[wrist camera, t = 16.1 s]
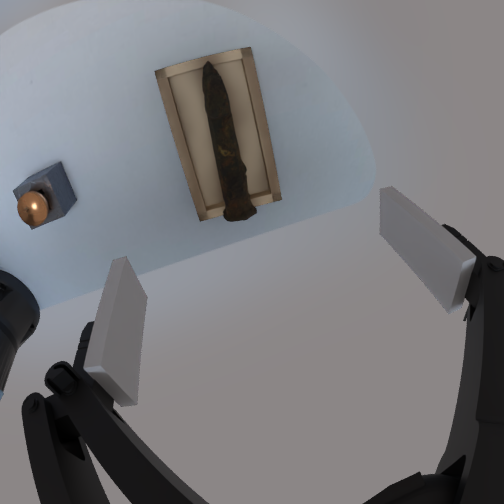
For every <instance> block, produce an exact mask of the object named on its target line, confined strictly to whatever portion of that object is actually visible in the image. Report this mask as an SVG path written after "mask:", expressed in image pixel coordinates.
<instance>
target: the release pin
mask: <svg viewBox="0 0 504 504" xmlns="http://www.w3.org/2000/svg"><path fill="white" fill-rule="evenodd" d="M17 208H18V213H19V216H20V217H21V219H22V220H23V221H24V222H25V223H26V224H28V225H30V226H38V225H40V224H42V223H43V222H44V220H45V219H46V218H47V216H48V212H49V207H48V202H47V199H46V197H45V195H44V193H43V191H42V189H40V190H38V191H37V192H36V191H28V192H26V193H25V194H24V195H22V196H21V198H20V199H19V201H18V205H17Z"/></svg>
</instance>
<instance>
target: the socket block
mask: <svg viewBox="0 0 504 504" xmlns="http://www.w3.org/2000/svg"><path fill="white" fill-rule="evenodd" d="M40 189H42V191H43V193H44V195H45V197H46V199H47V202H48V207H49V212H48V216H47V218H46V219H45V220H44V222H43V223H42V224H40V225H38V226H30V225H29V226H30V228H31V230H32V229H35V228H37V227H39V226H42V225H44V224H46V223H49V222H51V221H54V220H56V219H59V218H61V217H63V216H65V215H66V214H67V212H68V211H69V210H70V208H71V207H72V206H73V204H74V203H75V202H76V200H77V199H76V197H75V194H74V192H73V190H72V187H71V185H70V183H69V180H68V178H67V176H66V173H65V171H64V168H63V166H62V163H61V162H59V163H56V164H54V165H52V166H50V167H48V168H46V169H44V170H42V171H40V172H38V173H36V174H34V175H32V176H30V177H28V178H27V179H26V180H25V181H24V182H22V183H21V184H20V185H19V186H18V187H17V188H16V189H14V190H13V193H14V195H15V197H16V199H17V201H19V199H20V198H21V196H22V195H24V194H25V193H26V192H28V191H36V192H37V191H38V190H40Z"/></svg>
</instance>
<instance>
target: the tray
mask: <svg viewBox="0 0 504 504" xmlns="http://www.w3.org/2000/svg"><path fill="white" fill-rule="evenodd" d="M207 61H209V62H211V64H212V65H213V67H214V68H215V69H216V70H217V71H218V73H219V75H220V76H221V78H222V80H223V83H224V85H225V88H226V91H227V94H228V98H229V101H230V108H231V113H232V117H233V123H234V128H235V133H236V137H237V141H238V145H239V150H240V156H241V159H242V161H243V163H244V164H245V166H246V168H247V172H246V175H247V185H248V193H249V194H250V200H251V202H252V204H253V206H254V207H256V206H260V205H264V204H268V203H271V202H275V201H279V200H282V197H281V192H280V186H279V181H278V176H277V170H276V165H275V160H274V155H273V149H272V144H271V139H270V134H269V129H268V124H267V120H266V115H265V110H264V105H263V100H262V96H261V91H260V86H259V82H258V77H257V73H256V68H255V64H254V59H253V55H252V50H251V47H247V48H242V49H237V50H232V51H227V52H223V53H218V54H214V55H210V56H205V57H201V58H198V59H194V60H190V61H186V62H183V63H179V64H176V65H173V66H169V67H166V68H163V69H160V70H156V71H154V72H155V75H156V79H157V82H158V86H159V90H160V93H161V97H162V100H163V104H164V107H165V110H166V114H167V117H168V121H169V124H170V127H171V131H172V134H173V137H174V141H175V144H176V147H177V151H178V154H179V157H180V160H181V164H182V167H183V170H184V173H185V176H186V180H187V183H188V186H189V189H190V192H191V195H192V198H193V201H194V205H195V208H196V211H197V214H198V217H199V220H200V221H204V220H208V219H211V218H215V217H218V216H222V215H223V211H224V209H225V202H224V199H223V194H222V189H221V184H220V180H219V176H218V170H217V165H216V160H215V155H214V151H213V145H212V139H211V134H210V129H209V124H208V118H207V113H206V111H205V105H204V104H205V101H204V93H203V88H202V77H203V66H204V65H205V64H206V62H207Z"/></svg>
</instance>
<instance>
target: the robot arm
mask: <svg viewBox="0 0 504 504" xmlns="http://www.w3.org/2000/svg"><path fill="white" fill-rule="evenodd" d="M380 235H381V236H382V237H383V238H384V239H385V240H386V241H387V242H388V243H389V245H390V246H391V247H392V248H393V249H394V250H395V251H396V252H397V253H398V254H399V256H400V257H401V258H402V259H403V260H404V261H405V262H406V263H407V264H408V266H409V267H410V268H411V269H412V270H413V271H414V273H415V274H416V275H417V276H418V277H419V279H420V280H421V281H422V282H423V283H424V284H425V286H426V287H427V288H428V289H429V290H430V292H431V293H432V294H433V295H434V296H435V298H436V299H437V300H438V301H439V303H440V304H441V305H442V306H443V308H444V309H445V310H446V311H447V313H448V314H450V313H452V312H454V311H456V310H458V309H460V308H461V307H462V305H463V302H464V298H466V299H467V300H468V301H469V306H468V309H467V311H466V314H465V317H464V320H463V321H466V318H467V328H466V340H465V351H464V360H463V367H462V375H461V381H460V388H459V394H458V399H457V405H456V410H455V414H454V419H453V424H452V428H451V432H450V436H449V440H448V444H447V447H446V451H445V453H444V454H443V456H442V458H441V460H440V462H439V464H438V467H437V470H436V473H435V474H428V475H421V473H420V472H418V473H416V474H414V475H412V476H409V477H407V478H405V479H403V480H401V481H399V482H396V483H394V484H392V485H390V486H388V487H387V488H385V489H384V490H383V491H381V492H380V493H378V494H377V495H375V496H374V497H372V498H371V499H370V500H368V501H366V502H365V503H363V504H504V260H502V259H501V258H499V257H495V256H488V257H486V256H485V255H484V254H483V253H482V252H481V251H480V250H478V249H477V248H476V247H475V246H474V245H473V244H472V243H471V242H469V241H467V239H466V238H465V237H464V236H462V235H461V234H460V233H459V232H458V231H457V230H456V229H454V228H452V227H450V226H448V225H446V224H444V225H440V224H439V223H438V222H437V221H436V220H434V219H433V218H432V217H431V216H429V215H428V214H427V213H426V212H424V211H423V210H422V209H421V208H420V207H418V206H417V205H416V204H415V203H413V202H412V201H411V200H409V199H408V198H407V197H405V196H404V195H403V194H402V193H400V192H399V191H398V190H396V189H395V188H394V187H392V186H391V187H387V188H382V189H380ZM146 304H147V295H146V294H145V292H144V290H143V288H142V286H141V284H140V282H139V280H138V279H137V277H136V275H135V273H134V271H133V269H132V267H131V265H130V263H129V261H128V259H127V257H122V258H119V259H116V260H113V262H112V265H111V268H110V271H109V274H108V277H107V280H106V284H105V287H104V290H103V293H102V297H101V301H100V304H99V307H98V311H97V315H96V318H95V321H93V322H89V323H87V325H86V327H85V328H84V330H83V331H82V334H81V337H80V343H79V345H78V350H77V353H76V356H75V360H74V364H73V367H72V366H71V365H70V364H69V363H67V362H65V361H60V362H57V363H55V364H54V365H53V366H52V367H51V368H50V369H49V370H48V372H47V373H46V376H45V380H44V381H45V385H46V387H47V388H48V389H50V390H51V391H52V392H53V393H54V394H53V395H51V396H49V397H47V398H44V397H43V396H42V395H41V394H40V393H36V392H35V393H32V394H30V395H29V396H27V397H26V399H25V400H24V402H23V405H22V419H23V426H24V433H25V438H26V445H27V450H28V455H29V460H30V464H31V469H32V473H33V477H34V481H35V485H36V489H37V492H38V496H39V499H40V503H41V504H110V502H109V500H108V498H107V496H106V494H105V491H104V489H103V487H102V485H101V482H100V480H99V478H98V475H97V473H96V470H95V468H94V465H93V463H92V460H91V457H90V455H89V452H88V449H87V446H86V444H87V445H88V447H89V448H90V450H91V451H92V453H93V454H94V456H95V457H96V458H97V460H98V461H99V463H100V464H101V466H102V467H103V468H104V470H105V471H106V472H107V474H108V475H109V476H110V478H111V479H112V480H113V481H114V483H115V484H116V485H117V486H118V487H119V489H120V490H121V491H122V493H123V494H124V495H125V496H126V497H127V498H128V500H129V501H130V502H131V503H132V504H209V503H207V502H206V501H205V500H204V499H203V498H202V497H200V496H199V495H198V494H197V493H196V492H195V491H193V490H192V489H191V488H190V487H189V486H188V485H187V484H186V483H184V482H183V481H182V480H181V479H180V478H179V477H178V476H177V475H176V474H175V473H173V471H172V470H170V469H169V468H168V467H167V466H166V465H165V464H164V463H163V462H162V461H161V460H160V459H159V458H158V457H157V456H156V455H155V454H154V453H153V452H152V450H150V448H149V447H148V446H147V445H146V444H145V443H144V442H143V441H142V440H141V439H140V438H139V437H138V436H137V434H136V433H135V432H134V431H133V430H132V429H131V428H130V427H129V425H128V424H127V423H126V422H125V421H124V420H123V418H122V417H121V416H120V415H119V414H118V412H117V411H116V410H115V409H114V408H113V403H114V400H115V401H116V402H117V403H118V404H119V405H120V406H121V407H123V406H132V405H137V401H138V385H139V371H140V358H141V348H142V338H143V328H144V320H145V311H146ZM39 319H40V311H39V307H38V304H37V302H36V300H35V298H34V296H33V295H32V294H31V292H30V291H29V290H28V289H27V287H26V286H25V285H24V284H23V283H21V282H20V281H19V280H18V279H16V278H15V277H13V276H12V275H10V274H8V273H6V272H3V271H0V400H1V398H2V396H3V391H4V388H5V384H6V381H7V378H8V375H9V372H10V369H11V367H12V364H13V361H14V358H15V355H16V353H17V350H18V348H19V347H20V346H21V345H22V344H23V343H24V342H25V341H26V340H27V339H28V338H29V337H30V336H31V335H32V334H33V333H34V331H35V329H36V327H37V325H38V322H39Z"/></svg>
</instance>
